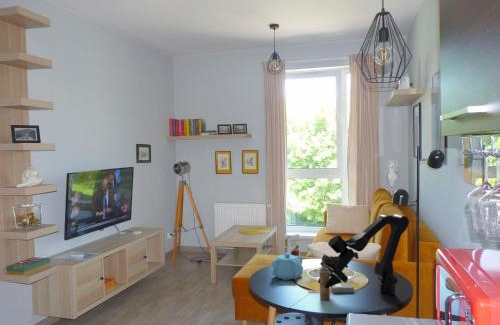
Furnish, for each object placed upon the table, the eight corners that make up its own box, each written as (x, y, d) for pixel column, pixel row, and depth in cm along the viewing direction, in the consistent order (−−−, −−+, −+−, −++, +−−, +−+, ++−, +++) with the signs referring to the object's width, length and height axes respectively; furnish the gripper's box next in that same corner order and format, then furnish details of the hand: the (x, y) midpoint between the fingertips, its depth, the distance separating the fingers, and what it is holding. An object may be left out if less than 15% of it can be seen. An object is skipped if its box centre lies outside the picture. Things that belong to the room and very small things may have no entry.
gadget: (319, 270, 232) (319, 264, 232) (345, 273, 225) (345, 267, 225) (308, 282, 211) (308, 275, 211) (335, 286, 205) (335, 278, 205)
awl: (328, 297, 184) (327, 259, 184) (330, 300, 180) (330, 261, 179) (319, 297, 184) (318, 259, 184) (321, 301, 180) (320, 262, 179)
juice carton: (283, 263, 246) (282, 233, 246) (295, 261, 250) (294, 232, 249) (289, 266, 239) (289, 235, 239) (301, 264, 243) (301, 234, 242)
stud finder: (350, 288, 196) (350, 282, 196) (354, 292, 190) (354, 286, 190) (330, 288, 195) (330, 283, 195) (333, 293, 189) (333, 287, 189)
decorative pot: (279, 272, 229) (279, 248, 229) (306, 275, 222) (305, 251, 222) (268, 280, 215) (268, 255, 214) (296, 283, 208) (296, 258, 207)
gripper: (323, 244, 191) (302, 268, 189) (341, 253, 173) (318, 280, 171) (338, 258, 194) (318, 283, 191) (357, 269, 175) (335, 296, 173)
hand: (321, 285), depth 181 cm, fingers open, 7 cm apart
